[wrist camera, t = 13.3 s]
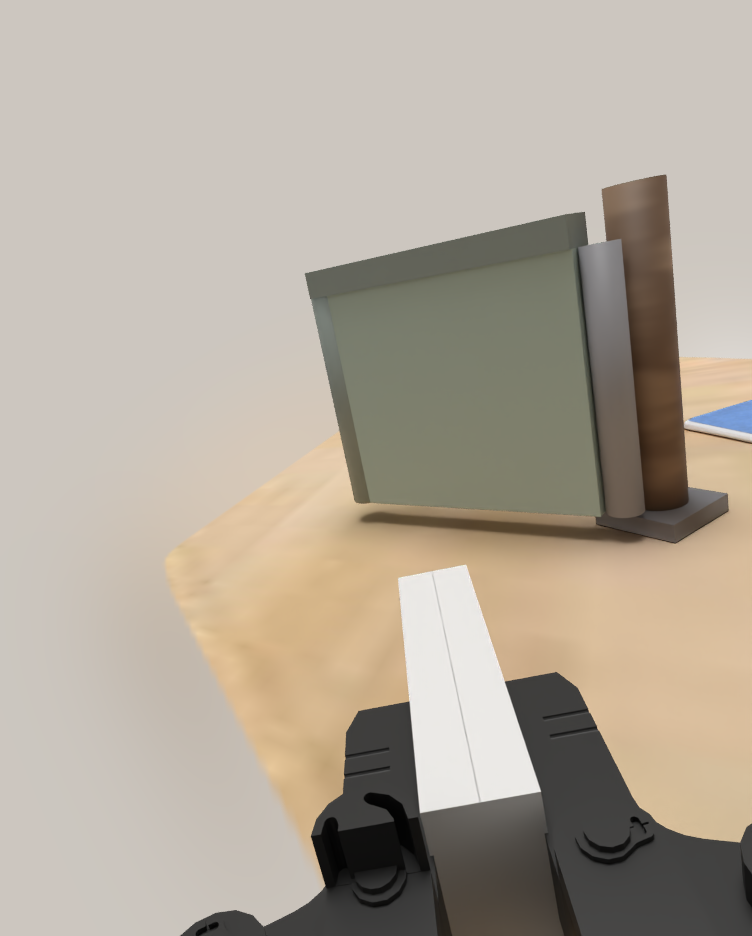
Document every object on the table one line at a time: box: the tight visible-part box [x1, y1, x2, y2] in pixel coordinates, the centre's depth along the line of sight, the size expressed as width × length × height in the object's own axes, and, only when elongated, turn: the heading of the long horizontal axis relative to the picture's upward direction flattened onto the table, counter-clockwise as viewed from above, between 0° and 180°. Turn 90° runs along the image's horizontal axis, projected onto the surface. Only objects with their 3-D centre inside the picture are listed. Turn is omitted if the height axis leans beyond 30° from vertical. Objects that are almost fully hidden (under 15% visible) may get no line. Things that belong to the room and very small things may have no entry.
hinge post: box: [596, 175, 729, 543], centre depth 35 cm, size 5×5×18 cm
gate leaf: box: [305, 212, 645, 518], centre depth 39 cm, size 20×3×16 cm, turn 54°
